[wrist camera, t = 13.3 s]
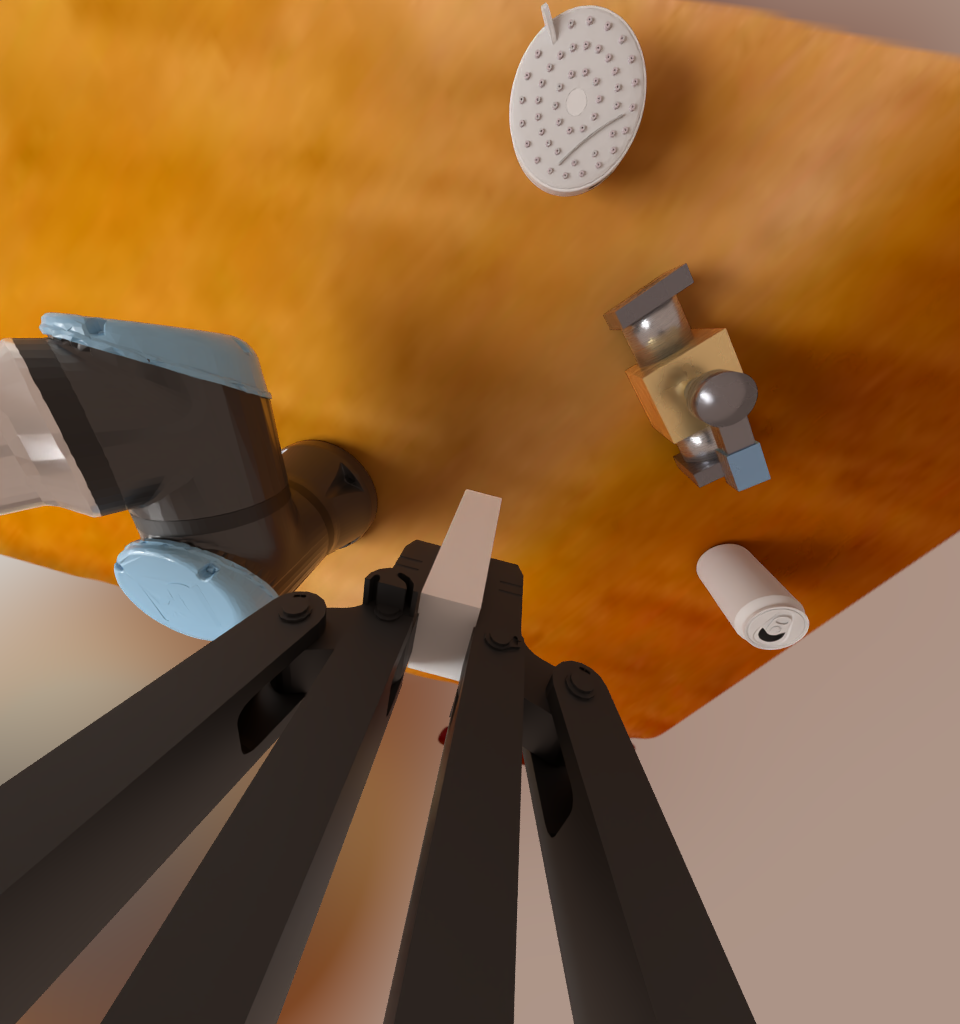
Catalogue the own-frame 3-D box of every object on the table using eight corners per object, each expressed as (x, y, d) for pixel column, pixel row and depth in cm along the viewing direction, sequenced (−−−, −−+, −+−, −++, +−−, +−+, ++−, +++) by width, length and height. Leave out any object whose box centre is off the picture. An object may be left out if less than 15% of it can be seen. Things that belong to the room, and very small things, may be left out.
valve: (718, 390, 38) (772, 407, 29) (652, 426, 40) (684, 452, 32) (692, 328, 36) (742, 327, 27) (624, 371, 38) (651, 382, 30)
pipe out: (733, 440, 40) (764, 457, 35) (678, 467, 42) (699, 487, 37) (713, 393, 38) (742, 403, 33) (657, 424, 40) (675, 438, 35)
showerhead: (615, -69, 21) (671, 125, 25) (596, 23, 28) (642, 167, 31) (479, 60, 25) (544, 217, 28) (491, 116, 31) (542, 238, 34)
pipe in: (687, 332, 36) (714, 332, 31) (629, 368, 38) (644, 374, 33) (662, 273, 34) (686, 263, 29) (603, 315, 36) (614, 312, 31)
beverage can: (685, 576, 48) (729, 645, 38) (707, 535, 45) (760, 598, 35) (734, 586, 48) (791, 659, 37) (759, 546, 45) (828, 612, 34)
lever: (679, 386, 29) (690, 390, 27) (732, 358, 28) (749, 361, 26) (716, 485, 32) (729, 496, 30) (766, 465, 31) (783, 475, 29)
